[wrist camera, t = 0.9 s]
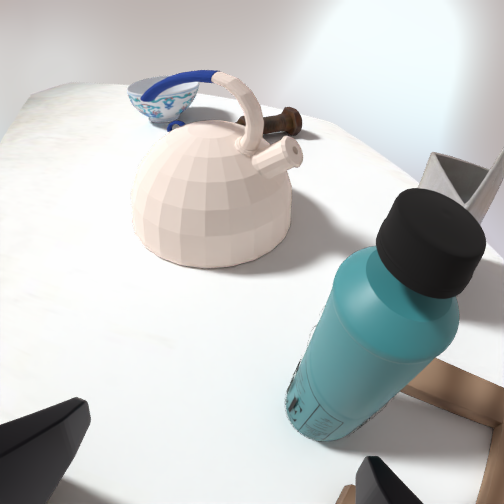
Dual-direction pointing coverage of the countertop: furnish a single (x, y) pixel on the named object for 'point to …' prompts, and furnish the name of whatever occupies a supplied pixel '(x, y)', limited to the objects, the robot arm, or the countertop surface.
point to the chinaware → (162, 99)
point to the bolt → (280, 122)
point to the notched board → (466, 405)
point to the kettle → (214, 184)
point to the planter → (464, 181)
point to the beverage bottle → (386, 314)
